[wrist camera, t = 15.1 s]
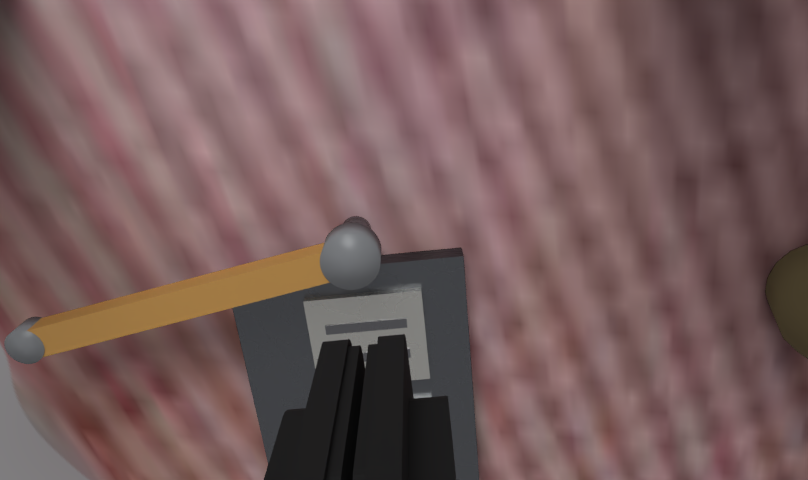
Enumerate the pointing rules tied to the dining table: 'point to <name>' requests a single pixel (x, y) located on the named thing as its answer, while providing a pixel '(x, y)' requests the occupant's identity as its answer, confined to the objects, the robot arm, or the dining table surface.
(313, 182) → the dining table surface
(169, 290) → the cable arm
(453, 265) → the label base
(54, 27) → the dining table surface
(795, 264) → the squeeze bottle
